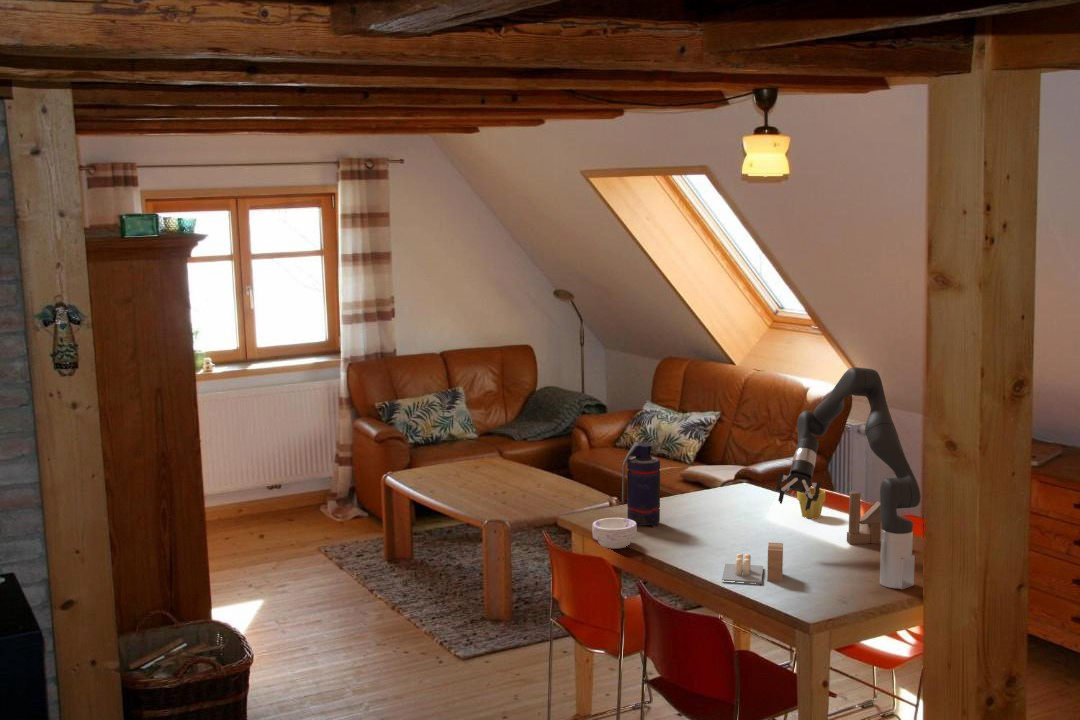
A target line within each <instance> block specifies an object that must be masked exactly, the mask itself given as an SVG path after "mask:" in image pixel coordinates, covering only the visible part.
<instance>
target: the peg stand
mask: <svg viewBox="0 0 1080 720" xmlns="http://www.w3.org/2000/svg"><path fill="white" fill-rule="evenodd" d="M751 559H752V558H751V554H749V553H745V554H743V553H736V557H735V563H724V567H723V568H724V569H723V573H722V578H721V581H722V580H724V581H735V582H744V583H756V584H761V585H762V584H763V583H762V581H763V574H764V565H755V564H751Z"/></svg>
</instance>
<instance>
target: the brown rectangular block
mask: <svg viewBox="0 0 1080 720" xmlns="http://www.w3.org/2000/svg"><path fill="white" fill-rule="evenodd" d="M767 545H768V546H767V572H766V573H767V576H766V577H767V579H766V580H767V582H775V581H777V582H778V583H782V582H783V571H784V569H783V568H784V566H783V565H784V563H783V562H784V543H783V542H768V544H767Z"/></svg>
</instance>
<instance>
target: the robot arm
mask: <svg viewBox="0 0 1080 720" xmlns="http://www.w3.org/2000/svg"><path fill="white" fill-rule="evenodd" d="M885 395H886V394H885V391H884V385H883V382H882V378H881V376H880V374H879V373H878V371H877V370H876V369H873V368H866V367H857V366H856V367H854V366H853V367H850V368H848V369H847V370H846V371H845V372H844V373H843V374H842V376H841V377H840V379H838V381H837V383H836V385H835V386H834V387H833V388H832V391H830V393H829V394H828V396H827V397H826V398H825V399H823V400H822V401H821V402H820V403H819V404H817V406H816V407H815V408H814V410H813V412H812V411H810V410H803V411H802V412H800V414H799V415H798V418H797V421H796V426H797V427H796V428H797V445H796V448H795V452H794V455H793V458H792V462H791V466H790V470H789V474H788V475H785V474H784V472H780V473H779V476H778V479H777V483H776V485H775V489H774V490H775V492H779V496H778V502H779V504H780V505H782V504H783V500H784V497H785V493H787V492H789V491H790V490H792V491H794V492H797V491H798V492H801V493H802V492H804V494H805V496H806V497H807V499H808V500H807V503H806V508H805V510H806V511H807V509H810V506H811V502H812V501H817V500H818V497H819V490H820V489H821V483H820V482H819V481H818V482H813V480H812V479H813V476H814V471H815V467H816V461H817V454H818V449H819V445H820V444H819V440H818V439H817V438H816V437H822V436H825V435H826V433H827V431H828V430H829V426H830V425H831V424H832V422H833V421H834V420H835V419H836V418H837V417H839V416H840V414H841V413H842V412H843V410H844V407H845V399H846V398H847V397H848V398H849V396H855V397H856V396H857V397H865V398H866V399H867V400H868V403H869V407H870V412H869V415H868V417H867V419H866V422H865V426H864V432H865V437H866V439H867V442H868V445H869V447H870V449H871V451H872V452H873V454H875V456H877V457H878V458H879V459H880V460H881V461H882V462H883V463H885V464H886V465H887V467H889V468H890V469H891V470H892V471H893V473H894V475H895V476H896V477H888V478H884V479H883V480H882V481H881V482H880V483H881V484H880V489H879V500H880V501H879V502H880V517H881V523H880V524H881V532H880V555H879V584H880V585H881V586H883V587H886V588H890V589H898V590H904V589H907V588H908V589H909V588H911V587H914V585H915V565H916V564H915V563H916V562H915V560H916V559H915V558H916V557H915V556H916V555H913V535H914V532H913V531H914V523H913V521H912V520H911V519H909V518H907V517H903V516H901V515H899V514H898V512H897V509H910V508H916V507H918V506H919V505H920V503H921V489H920V487H919V483H918V482H917V478H916V477H915V475H914V473H913V471H912V469H911V466H910V464H909V462H908V460H907V457H906V454H905V452H904V449H903V446H902V443H901V440H900V438H899V434H898V432H897V429H896V426H895V423H894V421H893V419H892V416H891V415H892V414H891V412H890V409H889V406H888V403H887V399H886V396H885ZM785 480H786V481H787V483H786V484H785V485H784V486H783V487H781V484H782V482H784V481H785ZM809 488H813V489H814V490H815V494H814V496H812V494H811V492H810V489H809Z"/></svg>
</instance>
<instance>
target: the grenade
mask: <svg viewBox="0 0 1080 720" xmlns="http://www.w3.org/2000/svg"><path fill="white" fill-rule="evenodd" d="M652 448H653V446H652V444H651V442H646V441H635V442H633V444H632V445H631V447H630V448H629V451H628V452H627V454H626V456H625V459H624V460H623V463H622V483H621V484H622V485H621V486H622V487H621V488H622V489H621V491H622V492H621V501H622V502H621V503H622V504H624V503H625V482H626V481H625V479H627V487H626V488H627V489H626V491H627V495H626V496H627V502H626V504H627V505H626V506H627V512H626V513H627V518H626V519H630V520H633V521H635V522H636V524H637V527H638V526H655V527H656V526H657V525H658V524H659V523H660V521H661V517H660V516H661V515H660V514H661V509H660V508H661V460H660V458H658V457H654V456H652V455H651V452H652ZM626 464H627V471H626ZM625 472H626V473H627V478H625V477H626V475H625V474H626V473H625Z"/></svg>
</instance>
